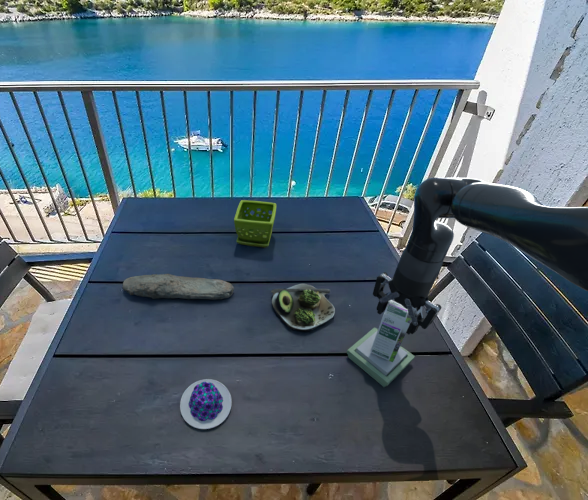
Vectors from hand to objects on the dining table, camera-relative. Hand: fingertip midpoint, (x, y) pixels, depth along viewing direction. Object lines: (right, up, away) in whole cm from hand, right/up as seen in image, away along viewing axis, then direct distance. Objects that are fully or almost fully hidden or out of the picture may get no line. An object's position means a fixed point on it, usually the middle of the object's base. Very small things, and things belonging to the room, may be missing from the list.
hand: (394, 321), depth 81 cm
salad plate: (-18, -1, +24) cm, 30 cm away
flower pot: (-30, +21, +51) cm, 63 cm away
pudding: (-44, -20, 0) cm, 48 cm away
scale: (0, -12, +10) cm, 15 cm away
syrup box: (0, -9, +7) cm, 11 cm away
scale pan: (0, -10, +8) cm, 13 cm away
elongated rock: (-55, +4, +29) cm, 63 cm away
